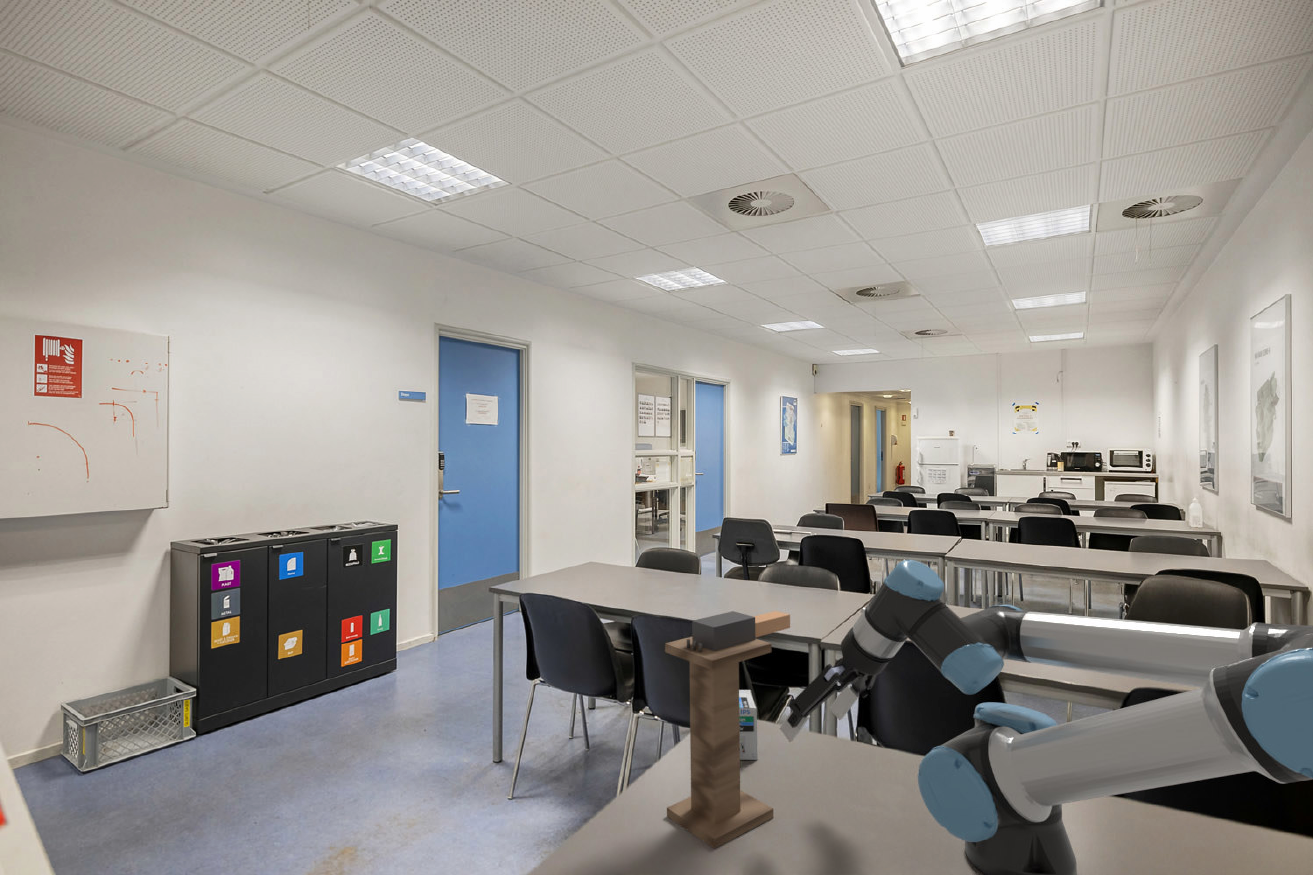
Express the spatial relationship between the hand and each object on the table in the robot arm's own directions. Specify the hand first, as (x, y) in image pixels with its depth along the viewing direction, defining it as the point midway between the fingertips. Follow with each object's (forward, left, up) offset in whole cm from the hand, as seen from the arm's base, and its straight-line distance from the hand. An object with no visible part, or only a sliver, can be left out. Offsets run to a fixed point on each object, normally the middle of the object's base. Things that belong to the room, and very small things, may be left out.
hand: (811, 723), depth 117 cm
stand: (+9, +14, -15) cm, 22 cm away
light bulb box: (+25, -7, -16) cm, 30 cm away
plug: (+9, +7, +15) cm, 19 cm away
